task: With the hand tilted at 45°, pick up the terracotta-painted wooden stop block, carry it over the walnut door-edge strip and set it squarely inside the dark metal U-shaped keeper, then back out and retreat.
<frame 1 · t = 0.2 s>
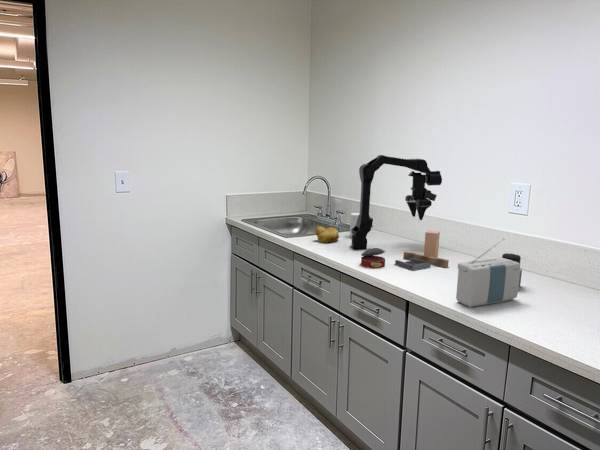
hand: (417, 218, 225), 14 cm above the countertop, tool pointing down, fingers open, 9 cm apart
canned food: (372, 265, 196), on the countertop
keeper bracket: (412, 266, 195), on the countertop
stop block: (430, 258, 208), on the countertop
door edge strip: (425, 262, 201), on the countertop
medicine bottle: (508, 286, 171), on the countertop
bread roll: (328, 241, 238), on the countertop
stereo radio cassette player: (485, 302, 155), on the countertop
supplement box: (357, 237, 249), on the countertop
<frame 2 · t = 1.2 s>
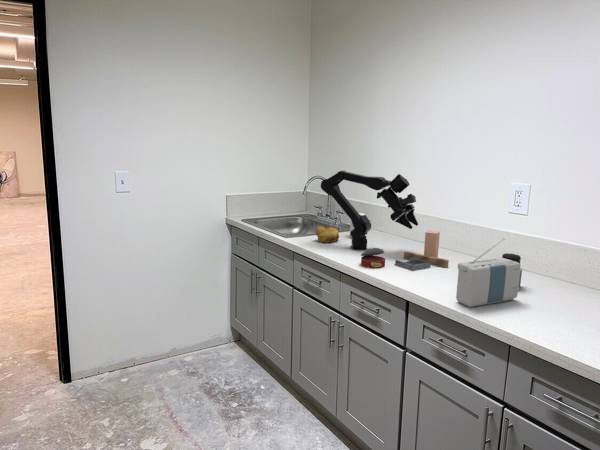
hand: (414, 226, 210), 13 cm above the countertop, tool tilted 45°, fingers open, 9 cm apart
nothing on the countertop moved.
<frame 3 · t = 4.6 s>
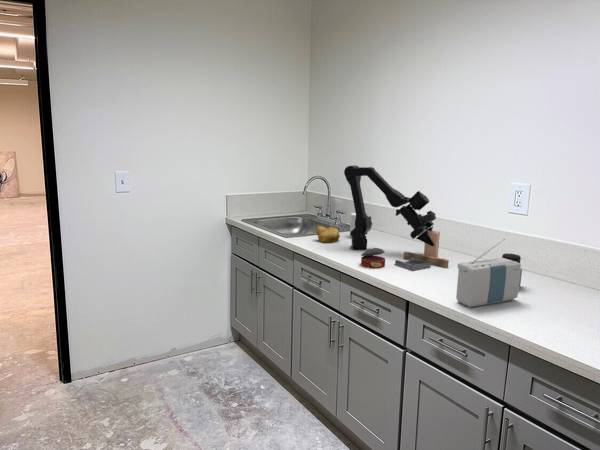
hand: (435, 244, 206), 7 cm above the countertop, tool tilted 45°, fingers closed on stop block, 5 cm apart
stop block: (430, 258, 208), on the countertop, touching gripper
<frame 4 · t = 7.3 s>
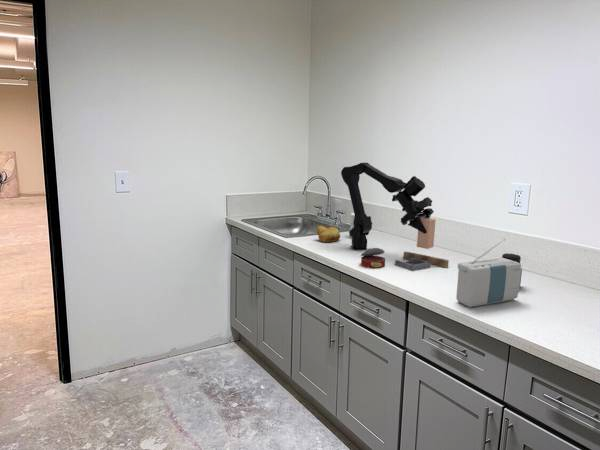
hand: (429, 232, 198), 13 cm above the countertop, tool tilted 45°, fingers closed on stop block, 5 cm apart
stop block: (425, 246, 200), point 7 cm above the countertop, touching gripper
when the fingers open (8 cm above the countertop, at t = 10.2 s): stop block stays where it is, resting on keeper bracket.
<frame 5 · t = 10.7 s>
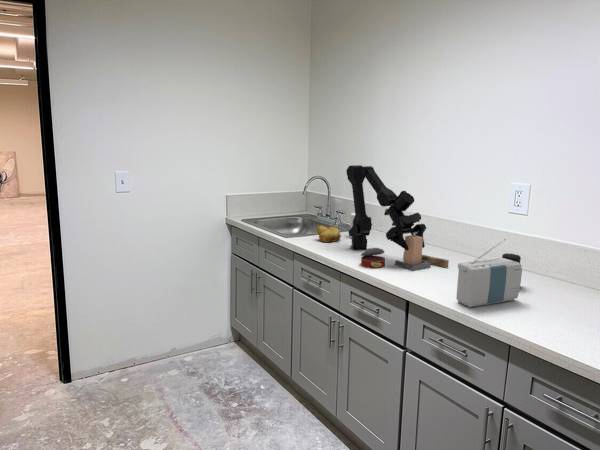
hand: (415, 248, 193), 8 cm above the countertop, tool tilted 45°, fingers open, 9 cm apart
stop block: (412, 265, 195), resting on keeper bracket
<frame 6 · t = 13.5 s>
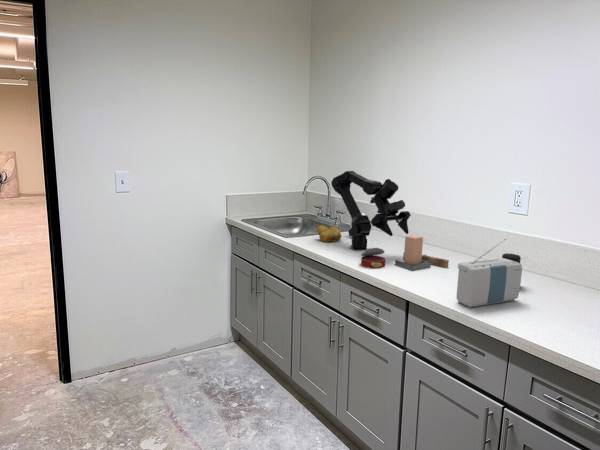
hand: (399, 234, 200), 12 cm above the countertop, tool tilted 45°, fingers open, 9 cm apart
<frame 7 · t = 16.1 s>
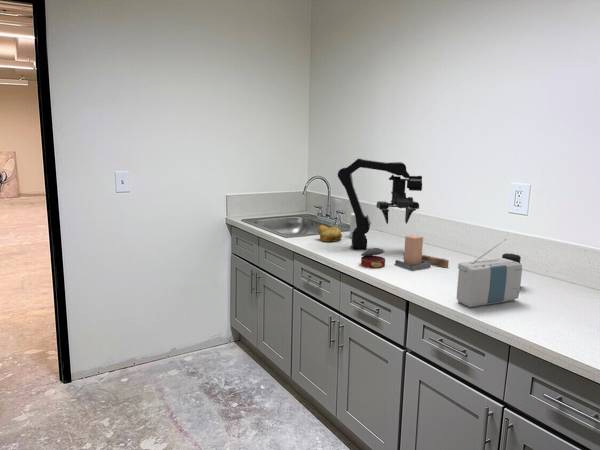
hand: (396, 223, 219), 13 cm above the countertop, tool pointing down, fingers open, 9 cm apart
at the end: stop block 0.0 cm off-centre on the keeper bracket, point 0.4 cm above the keeper bracket's base; stop block tilted 0°; the gripper is holding nothing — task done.
